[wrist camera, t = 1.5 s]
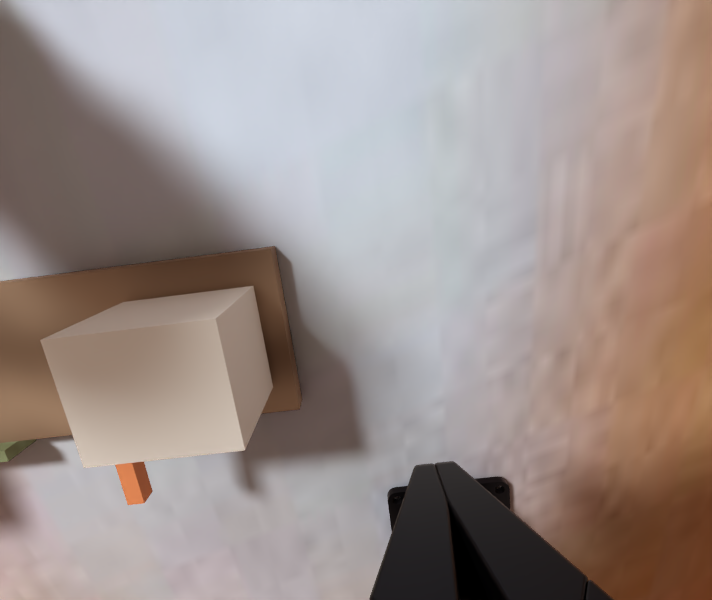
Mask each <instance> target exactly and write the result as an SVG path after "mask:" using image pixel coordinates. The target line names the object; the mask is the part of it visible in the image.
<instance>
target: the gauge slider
mask: <svg viewBox="0 0 712 600" xmlns="http://www.w3.org/2000/svg"><path fill="white" fill-rule="evenodd" d="M40 341H41V344H42V347H43V350H44V353H45V356H46V359H47V362H48V365H49V367H50V370H51V373H52V376H53V379H54V382H55V385H56V388H57V391H58V394H59V397H60V400H61V403H62V406H63V408H64V411H65V414H66V417H67V420H68V423H69V426H70V429H71V432H72V435H73V438H74V441H75V444H76V447H77V449H78V452H79V455H80V458H81V461H82V464H83V467H84V468H89V467H98V466H107V465H115V466H116V469H117V472H118V475H119V478H120V481H121V485H122V488H123V491H124V494H125V497H126V500H127V503H128V505H132V504H141V503H145V501H146V500H147V499H148V497H149V496H150V494H151V493H152V488H151V485H150V481H149V478H148V475H147V471H146V468H145V464H144V461H153V460H162V459H171V458H180V457H189V456H198V455H208V454H217V453H226V452H235V451H244V450H245V449H246V447H247V445H248V443H249V440H250V438H251V436H252V434H253V431H254V429H255V427H256V424H257V422H258V420H259V418H260V415H261V413H262V411H263V409H264V406H265V404H266V402H267V400H268V397H269V395H270V393H271V390H272V388H273V384H272V379H271V374H270V368H269V363H268V358H267V353H266V348H265V343H264V338H263V333H262V327H261V322H260V317H259V312H258V307H257V302H256V297H255V292H254V287H253V286H247V287H239V288H231V289H223V290H215V291H207V292H199V293H191V294H183V295H175V296H167V297H159V298H151V299H143V300H135V301H127V302H122V303H120V304H118V305H116V306H113V307H111V308H109V309H107V310H105V311H103V312H100V313H98V314H96V315H94V316H92V317H89V318H87V319H85V320H83V321H81V322H79V323H76V324H74V325H72V326H70V327H68V328H65V329H63V330H61V331H59V332H57V333H55V334H52V335H50V336H48V337H46V338H44V339H41V340H40Z"/></svg>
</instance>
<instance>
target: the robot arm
mask: <svg viewBox="0 0 712 600" xmlns="http://www.w3.org/2000/svg"><path fill="white" fill-rule="evenodd" d="M497 486H501V487H500V488H498V489H497V488H496V487H497ZM396 496H398V497H400V498H399V499H394V497H396ZM387 497H388V506H389V513H390V521H391V529H392V534H391V537H390V540H389V543H388V546H387V549H386V551H385V554H384V557H383V560H382V563H381V566H380V569H379V572H378V575H377V578H376V581H375V584H374V587H373V590H372V592H371V595H370V600H614V599H613V598H611V597H610V596H609V595H608V594H607V593H606V592H605V591H603V590H602V589H601V588H600V587H599V586H598V585H596V584H595V583H594V582H593V581H591V580H589V581H588V578H587V576H586V575H585V574H583V573H582V572H581V571H580V570H579V569H578V568H577V567H575V566H574V565H573V564H572V563H571V562H570V561H568V560H567V559H566V558H565V557H564V556H563V555H562V554H560V553H559V552H558V551H557V550H556V549H555V548H553V547H552V546H551V545H550V544H549V543H548V542H547V541H545V540H544V539H543V538H542V537H541V536H540V535H538V534H537V533H536V532H535V531H534V530H533V529H532V528H530V527H529V526H528V525H527V524H526V523H525V522H523V521H522V520H521V519H520V518H519V517H518V516H516V515H515V514H514V513H513V512H512V511H511V510H510V495H509V486H508V484H507V482H506V480H505V479H504V478H502V477H489V478H480V479H474V478H473V477H471V476H470V475H469V474H468V473H467V472H466V471H465V470H463V469H462V468H461V467H460V466H459V465H458V464H456V463H455V462H453V461H450V462H441V463H436V464H435V465H434V464H422V465H416V466H415V467H414V469H413V472H412V475H411V478H410V481H409V484H408V486H404V487H395V488H392V489H391V490H389V492H388V495H387Z"/></svg>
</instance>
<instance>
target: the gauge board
mask: <svg viewBox="0 0 712 600" xmlns="http://www.w3.org/2000/svg"><path fill="white" fill-rule="evenodd" d="M247 286H253V287H254V292H255V297H256V302H257V307H258V312H259V317H260V322H261V327H262V333H263V338H264V343H265V348H266V353H267V358H268V363H269V368H270V374H271V379H272V384H273V388H272V390H271V393H270V395H269V397H268V400H267V402H266V404H265V406H264V409H263V411H262V413H271V412H280V411H289V410H298V409H300V406H301V402H302V395H301V389H300V384H299V378H298V372H297V367H296V361H295V356H294V350H293V344H292V339H291V333H290V327H289V322H288V316H287V310H286V305H285V299H284V293H283V288H282V282H281V277H280V271H279V265H278V260H277V254H276V248H275V246H272V247H264V248H257V249H249V250H241V251H233V252H225V253H218V254H210V255H202V256H194V257H186V258H179V259H171V260H163V261H155V262H147V263H140V264H132V265H124V266H116V267H108V268H100V269H93V270H85V271H77V272H69V273H61V274H54V275H46V276H38V277H30V278H22V279H15V280H7V281H0V462H7V461H10V460H11V459H12V458H14V457H15V456H16V455H17V454H19V453H20V452H21V451H23V450H24V449H25V448H27V447H28V446H29V445H31V444H32V443H33V442H35V441H36V439H41V438H50V437H59V436H68V435H72V432H71V429H70V426H69V423H68V420H67V417H66V414H65V411H64V408H63V406H62V403H61V400H60V397H59V394H58V391H57V388H56V385H55V382H54V379H53V376H52V373H51V370H50V367H49V365H48V362H47V359H46V356H45V353H44V350H43V347H42V344H41V341H40V340H41V339H44V338H46V337H48V336H50V335H52V334H55V333H57V332H59V331H61V330H63V329H65V328H68V327H70V326H72V325H74V324H76V323H79V322H81V321H83V320H85V319H87V318H89V317H92V316H94V315H96V314H98V313H100V312H103V311H105V310H107V309H109V308H111V307H113V306H116V305H118V304H120V303H122V302H127V301H135V300H143V299H151V298H159V297H167V296H175V295H183V294H191V293H199V292H207V291H215V290H223V289H231V288H239V287H247ZM262 413H261V414H262Z"/></svg>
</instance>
